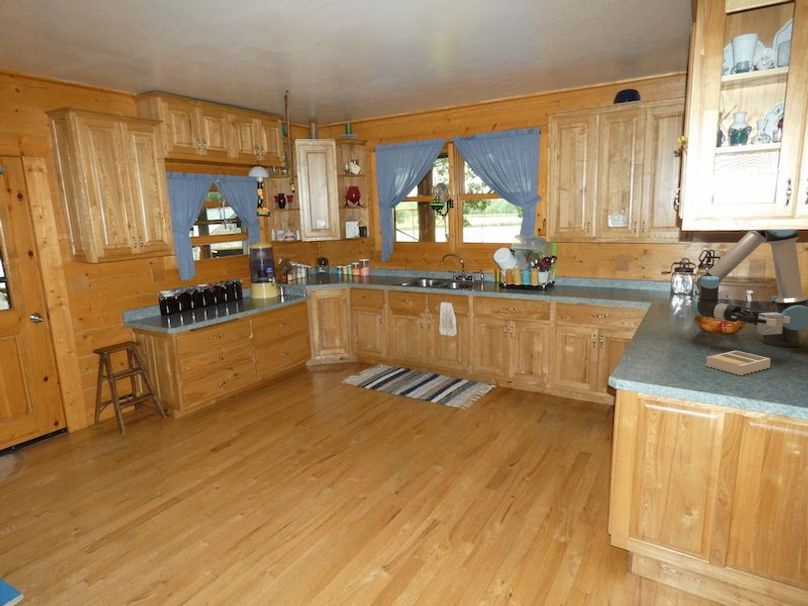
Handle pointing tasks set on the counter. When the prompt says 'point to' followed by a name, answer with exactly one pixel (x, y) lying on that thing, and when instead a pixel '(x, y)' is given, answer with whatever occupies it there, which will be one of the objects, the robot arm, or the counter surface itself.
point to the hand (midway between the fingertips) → (782, 321)
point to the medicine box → (771, 329)
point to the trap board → (738, 362)
